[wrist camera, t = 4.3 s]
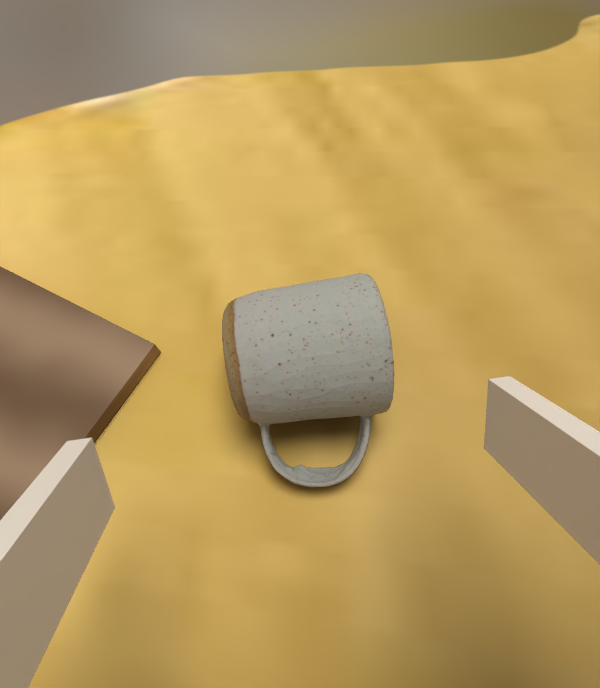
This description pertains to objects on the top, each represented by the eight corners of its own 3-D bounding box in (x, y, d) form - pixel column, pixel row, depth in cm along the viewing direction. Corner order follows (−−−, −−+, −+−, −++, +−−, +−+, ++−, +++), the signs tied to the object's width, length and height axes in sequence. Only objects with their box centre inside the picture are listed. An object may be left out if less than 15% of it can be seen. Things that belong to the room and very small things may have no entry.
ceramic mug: (235, 332, 26) (212, 263, 19) (354, 316, 26) (374, 243, 19) (251, 499, 21) (229, 492, 14) (393, 476, 22) (438, 457, 15)
